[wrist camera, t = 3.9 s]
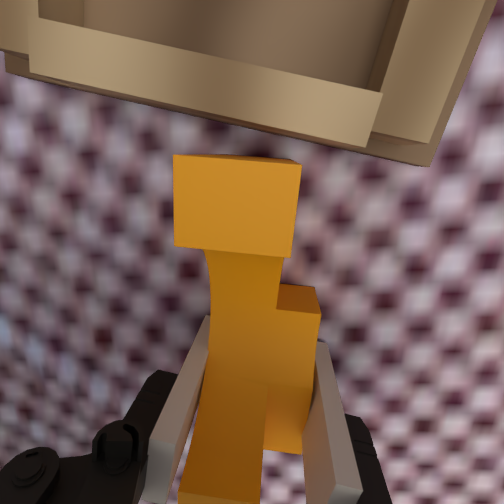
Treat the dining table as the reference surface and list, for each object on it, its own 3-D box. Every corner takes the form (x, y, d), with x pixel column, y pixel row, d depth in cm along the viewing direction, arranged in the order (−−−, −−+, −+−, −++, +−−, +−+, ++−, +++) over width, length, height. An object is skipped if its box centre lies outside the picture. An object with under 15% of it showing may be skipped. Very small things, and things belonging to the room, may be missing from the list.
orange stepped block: (297, 395, 16) (308, 551, 9) (217, 385, 16) (178, 530, 10) (334, 162, 12) (394, 172, 6) (227, 154, 12) (172, 154, 6)
